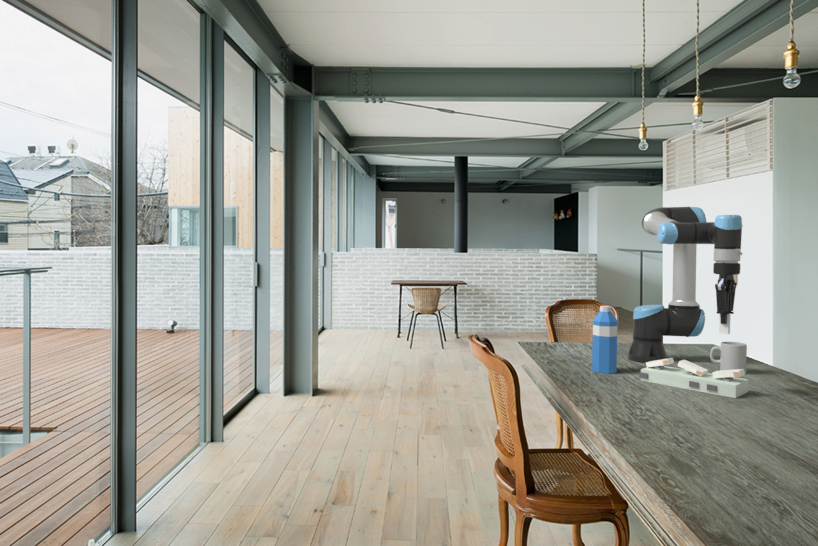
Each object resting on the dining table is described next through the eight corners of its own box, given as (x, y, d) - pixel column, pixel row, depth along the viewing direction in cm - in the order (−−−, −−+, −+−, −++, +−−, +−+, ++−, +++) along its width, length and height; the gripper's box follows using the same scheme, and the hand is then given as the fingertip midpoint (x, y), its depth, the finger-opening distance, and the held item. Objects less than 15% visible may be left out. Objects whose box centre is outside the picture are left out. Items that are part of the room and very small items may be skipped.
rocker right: (713, 378, 170) (712, 372, 171) (718, 376, 173) (717, 370, 173) (740, 376, 164) (738, 370, 165) (745, 374, 167) (743, 368, 168)
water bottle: (621, 373, 195) (622, 307, 194) (596, 373, 195) (597, 307, 194) (612, 368, 204) (613, 305, 203) (588, 368, 204) (589, 305, 204)
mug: (744, 370, 201) (745, 342, 200) (747, 375, 193) (748, 346, 193) (708, 367, 206) (709, 340, 206) (710, 372, 199) (711, 343, 198)
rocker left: (646, 367, 187) (645, 362, 187) (652, 365, 190) (651, 361, 190) (668, 364, 181) (667, 359, 181) (674, 362, 184) (672, 357, 184)
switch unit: (639, 380, 185) (639, 367, 185) (655, 375, 193) (655, 362, 193) (735, 398, 162) (735, 383, 162) (748, 391, 170) (748, 377, 170)
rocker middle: (677, 365, 179) (678, 361, 178) (682, 364, 182) (684, 359, 181) (700, 376, 173) (702, 371, 173) (706, 374, 176) (708, 369, 176)
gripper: (732, 263, 163) (730, 337, 165) (746, 261, 172) (743, 332, 173) (706, 262, 169) (704, 334, 170) (721, 261, 177) (719, 329, 179)
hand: (724, 333), depth 172 cm, fingers closed
